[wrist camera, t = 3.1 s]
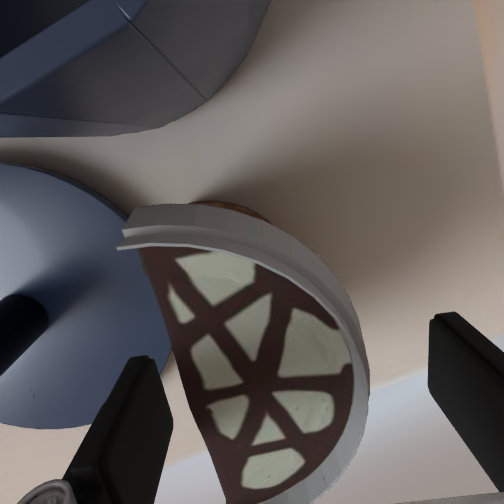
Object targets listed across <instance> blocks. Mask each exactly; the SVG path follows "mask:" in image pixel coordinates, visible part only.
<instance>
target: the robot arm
mask: <svg viewBox="0 0 504 504" xmlns="http://www.w3.org/2000/svg"><path fill="white" fill-rule="evenodd" d="M428 388H429V391H430V394H431V395H432V397H433V398H434V400H435V401H436V403H437V404H438V405H439V407H440V408H441V410H442V411H443V413H444V414H445V415H446V417H447V418H448V420H449V421H450V422H451V424H452V425H453V427H454V428H455V430H456V431H457V432H458V434H459V435H460V437H461V438H462V439H463V441H464V442H465V444H466V445H467V447H468V448H469V449H470V451H471V452H472V453H473V455H474V456H475V458H476V459H477V461H478V462H479V464H480V465H481V466H482V468H483V469H484V471H485V472H486V473H487V475H488V476H489V478H490V479H491V481H492V482H493V483H494V485H495V486H496V488H497V489H498V490H499V492H498V493H487V494H477V495H468V496H459V497H450V498H441V499H432V500H423V501H414V502H405V503H396V504H504V352H502V350H500V349H499V348H498V347H497V346H496V345H494V344H493V343H492V342H491V341H490V340H489V339H487V338H486V337H485V336H484V335H483V334H481V333H480V332H479V331H478V330H477V329H476V328H474V327H473V326H472V325H471V324H470V323H468V322H467V321H466V320H465V319H464V318H463V317H461V316H460V315H459V314H458V313H456V312H447V313H440V314H436V315H435V316H434V319H431V320H430V323H429V355H428ZM172 431H173V417H172V414H171V411H170V407H169V404H168V401H167V398H166V394H165V391H164V388H163V385H162V382H161V378H160V375H159V372H158V369H157V365H156V362H155V360H154V359H153V358H152V359H150V358H149V356H148V355H142V356H135V357H130V358H129V359H128V361H127V363H126V365H125V367H124V368H123V370H122V372H121V374H120V376H119V378H118V380H117V381H116V383H115V385H114V387H113V389H112V391H111V393H110V395H109V396H108V398H107V400H106V402H104V404H103V405H102V406H101V408H100V410H99V412H98V414H97V415H96V417H95V419H94V421H93V423H92V425H91V426H90V428H89V430H88V432H87V434H86V436H85V438H84V439H83V441H82V443H81V445H80V447H79V449H78V450H77V452H76V454H75V456H74V458H73V460H72V461H71V463H70V465H69V467H68V469H67V471H66V473H65V474H64V476H63V478H62V479H54V480H51V481H48V482H44V483H43V484H41V485H39V486H37V487H35V488H34V489H33V490H31V491H30V492H29V493H27V494H26V495H25V496H24V497H23V498H22V499H21V500H20V501H19V502H18V503H17V504H154V500H155V497H156V493H157V489H158V485H159V481H160V477H161V473H162V470H163V466H164V462H165V458H166V454H167V450H168V446H169V442H170V438H171V435H172Z"/></svg>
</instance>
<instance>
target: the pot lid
mask: <svg viewBox="0 0 504 504" xmlns="http://www.w3.org/2000/svg"><path fill="white" fill-rule="evenodd" d="M127 220H128V218H127V217H126V216H125V215H124V214H123V213H122V212H121V211H120V210H119V209H118V208H116V207H115V206H114V205H112V204H111V203H110V202H108V201H107V200H106V199H104V198H103V197H101V196H100V195H99V194H97V193H96V192H94V191H92V190H90V189H88V188H87V187H85V186H83V185H81V184H80V183H78V182H76V181H73V180H71V179H69V178H66V177H64V176H62V175H59V174H57V173H54V172H51V171H48V170H44V169H41V168H37V167H34V166H30V165H23V164H17V163H11V162H0V423H3V424H7V425H12V426H18V427H23V428H34V429H64V428H74V427H79V426H84V425H89V424H92V423H93V421H94V419H95V417H96V415H97V414H98V412H99V410H100V408H101V406H102V405H103V404H104V402H106V400H107V398H108V396H109V395H110V393H111V391H112V389H113V387H114V385H115V383H116V381H117V380H118V378H119V376H120V374H121V372H122V370H123V368H124V367H125V365H126V363H127V361H128V359H129V358H130V357H135V356H142V355H148V356H149V358H150V359H152V358H153V359H154V360H155V362H156V365H157V369H158V372H159V375H160V374H161V373H162V371H163V369H164V367H165V364H166V362H167V360H168V358H169V355H170V351H171V348H172V346H171V343H170V339H169V336H168V333H167V330H166V327H165V324H164V321H163V318H162V315H161V312H160V309H159V306H158V303H157V300H156V297H155V294H154V291H153V289H152V286H151V284H150V281H149V279H148V277H147V275H146V274H145V272H144V270H143V267H142V262H141V258H140V255H139V252H138V249H137V248H133V249H125V250H117V248H116V247H117V246H118V245H119V244H120V243H121V242H122V240H123V239H124V238H125V237H124V234H123V232H122V228H123V227H124V225H125V223H126V222H127Z"/></svg>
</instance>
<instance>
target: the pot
mask: <svg viewBox="0 0 504 504" xmlns="http://www.w3.org/2000/svg"><path fill="white" fill-rule="evenodd" d="M270 2H271V0H0V138H8V137H89V136H114V135H120V134H126V133H134V132H140V131H144V130H150V129H156V128H160V127H163V126H165V125H166V124H168V123H170V122H172V121H175V120H177V119H179V118H181V117H182V116H184V115H186V114H188V113H189V112H191V111H193V110H194V109H196V108H198V107H199V106H200V105H202V104H203V103H205V102H207V101H208V100H209V99H210V98H211V97H212V96H213V95H214V94H215V93H216V92H217V91H218V90H219V89H220V88H221V87H222V85H223V84H224V83H225V82H226V81H227V80H228V79H229V78H230V77H231V75H232V74H233V73H234V71H235V70H236V69H237V67H238V66H239V65H240V64H241V62H242V61H243V60H244V59H245V57H246V56H247V54H248V52H249V49H250V47H251V45H252V43H253V41H254V39H255V37H256V35H257V33H258V30H259V28H260V25H261V23H262V20H263V18H264V15H265V13H266V11H267V9H268V6H269V4H270Z"/></svg>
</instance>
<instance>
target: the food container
mask: <svg viewBox="0 0 504 504" xmlns="http://www.w3.org/2000/svg"><path fill="white" fill-rule="evenodd" d="M122 232H123V234H124V237H125V238H124V239H123V240H122V242H121V243H120V244H119V245H118V246H117V247H116V248H117V250H125V249H133V248H137V249H138V252H139V255H140V258H141V262H142V267H143V270H144V272H145V274H146V275H147V277H148V279H149V281H150V284H151V286H152V289H153V291H154V294H155V297H156V300H157V303H158V306H159V309H160V312H161V315H162V318H163V321H164V324H165V327H166V330H167V333H168V336H169V339H170V343H171V346H172V349H173V352H174V356H175V359H176V362H177V366H178V370H179V373H180V377H181V380H182V384H183V387H184V391H185V394H186V397H187V401H188V404H189V407H190V410H191V412H192V415H193V417H194V419H195V422H196V424H197V426H198V428H199V430H200V433H201V435H202V437H203V439H204V441H205V444H206V446H207V448H208V451H209V453H210V456H211V458H212V461H213V464H214V467H215V470H216V472H217V475H218V478H219V481H220V484H221V487H222V489H223V492H224V495H225V498H226V504H313V503H314V502H315V501H317V500H318V499H319V498H320V497H321V496H322V495H324V494H325V493H326V492H327V491H328V490H329V489H330V488H331V487H332V486H333V484H335V482H336V481H337V480H338V479H339V478H340V477H341V475H342V474H343V473H344V472H345V470H346V469H347V467H348V465H349V464H350V462H351V461H352V459H353V457H354V456H355V454H356V452H357V449H358V447H359V444H360V441H361V439H362V437H363V434H364V430H365V424H366V420H367V414H368V400H369V395H370V370H369V365H368V360H367V355H366V350H365V345H364V341H363V337H362V332H361V328H360V323H359V319H358V316H357V314H356V311H355V309H354V307H353V304H352V302H351V300H350V297H349V295H348V293H347V292H346V290H345V289H344V287H343V286H342V284H341V283H340V281H339V280H338V278H337V277H336V275H335V274H334V272H333V271H332V270H331V269H330V268H329V267H328V266H327V265H326V264H325V263H324V262H323V261H322V260H321V259H320V258H319V257H318V256H317V255H316V254H315V253H314V252H313V251H312V250H310V249H309V248H308V247H306V246H305V245H304V244H302V243H301V242H300V241H298V240H297V239H296V238H294V237H293V236H292V235H290V234H288V233H286V232H284V231H282V230H280V229H279V228H277V227H275V226H273V225H272V224H271V223H270V222H269V221H268V220H266V219H265V218H264V217H262V216H261V215H259V214H258V213H256V212H254V211H252V210H250V209H248V208H245V207H242V206H239V205H236V204H233V203H227V202H221V201H201V202H194V203H188V204H159V205H152V206H144V207H137V208H134V210H133V212H132V213H131V215H130V217H129V218H128V220H127V222H126V223H125V225H124V227H123V228H122Z"/></svg>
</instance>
